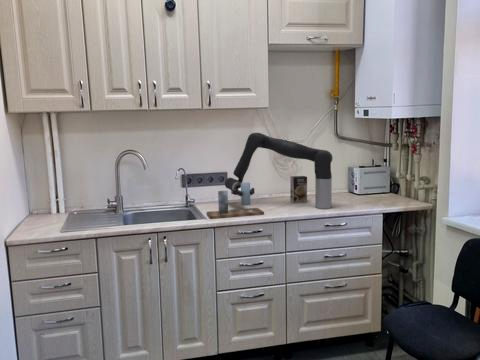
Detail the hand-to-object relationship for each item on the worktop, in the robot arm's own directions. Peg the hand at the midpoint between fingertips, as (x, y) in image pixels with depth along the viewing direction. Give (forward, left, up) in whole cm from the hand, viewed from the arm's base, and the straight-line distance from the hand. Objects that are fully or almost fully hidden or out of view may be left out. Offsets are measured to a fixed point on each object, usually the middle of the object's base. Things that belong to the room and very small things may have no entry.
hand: (246, 193), depth 240 cm
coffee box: (-45, +11, -12) cm, 48 cm away
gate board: (+3, -6, -12) cm, 14 cm away
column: (-2, -2, -7) cm, 7 cm away
